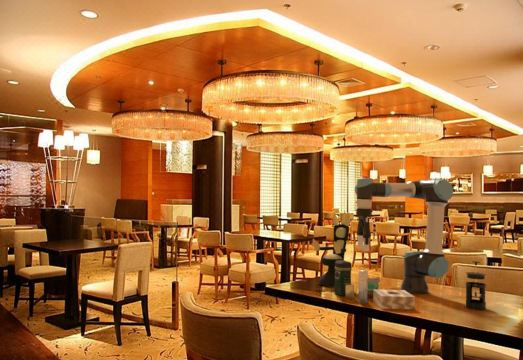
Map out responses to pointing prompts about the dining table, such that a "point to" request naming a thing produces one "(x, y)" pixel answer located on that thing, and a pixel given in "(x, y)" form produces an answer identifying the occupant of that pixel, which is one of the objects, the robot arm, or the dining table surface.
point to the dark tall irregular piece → (334, 249)
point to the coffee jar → (342, 276)
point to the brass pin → (349, 291)
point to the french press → (471, 302)
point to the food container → (372, 285)
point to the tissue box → (393, 299)
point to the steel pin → (363, 286)
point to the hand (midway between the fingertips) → (363, 249)
